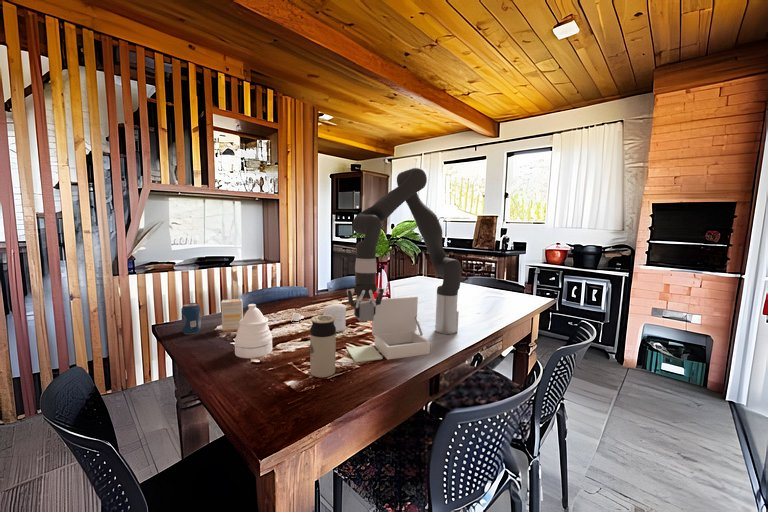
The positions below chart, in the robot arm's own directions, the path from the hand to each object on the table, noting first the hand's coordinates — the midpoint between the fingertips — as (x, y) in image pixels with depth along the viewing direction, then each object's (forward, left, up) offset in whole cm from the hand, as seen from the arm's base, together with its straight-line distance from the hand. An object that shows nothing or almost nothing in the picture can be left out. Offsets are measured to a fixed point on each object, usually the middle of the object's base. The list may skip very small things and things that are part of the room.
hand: (364, 316), depth 120 cm
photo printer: (+5, -28, -14) cm, 32 cm away
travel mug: (+17, +10, -14) cm, 24 cm away
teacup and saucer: (+16, -47, -15) cm, 52 cm away
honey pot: (+38, -15, -14) cm, 43 cm away
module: (0, 0, -1) cm, 1 cm away
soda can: (+63, -44, -14) cm, 78 cm away
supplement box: (+47, -43, -14) cm, 65 cm away
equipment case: (-15, 0, -14) cm, 21 cm away
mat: (0, 0, -14) cm, 14 cm away
